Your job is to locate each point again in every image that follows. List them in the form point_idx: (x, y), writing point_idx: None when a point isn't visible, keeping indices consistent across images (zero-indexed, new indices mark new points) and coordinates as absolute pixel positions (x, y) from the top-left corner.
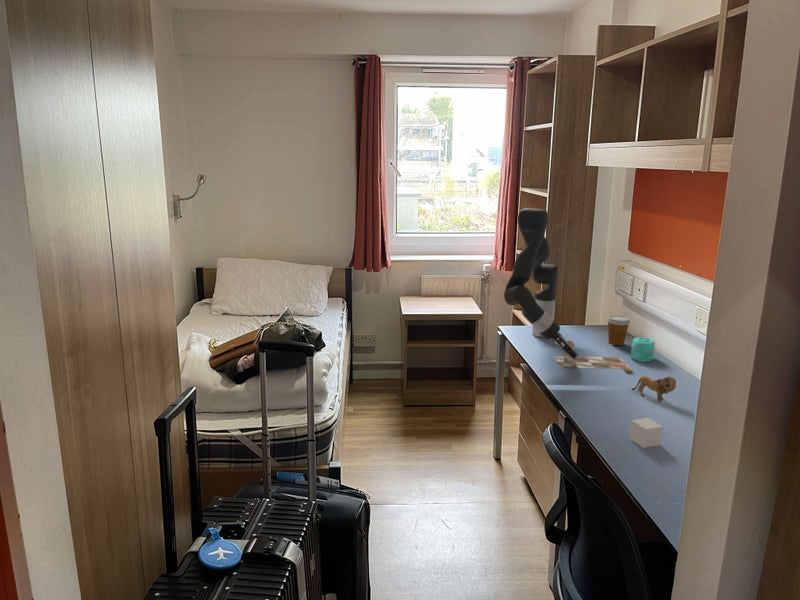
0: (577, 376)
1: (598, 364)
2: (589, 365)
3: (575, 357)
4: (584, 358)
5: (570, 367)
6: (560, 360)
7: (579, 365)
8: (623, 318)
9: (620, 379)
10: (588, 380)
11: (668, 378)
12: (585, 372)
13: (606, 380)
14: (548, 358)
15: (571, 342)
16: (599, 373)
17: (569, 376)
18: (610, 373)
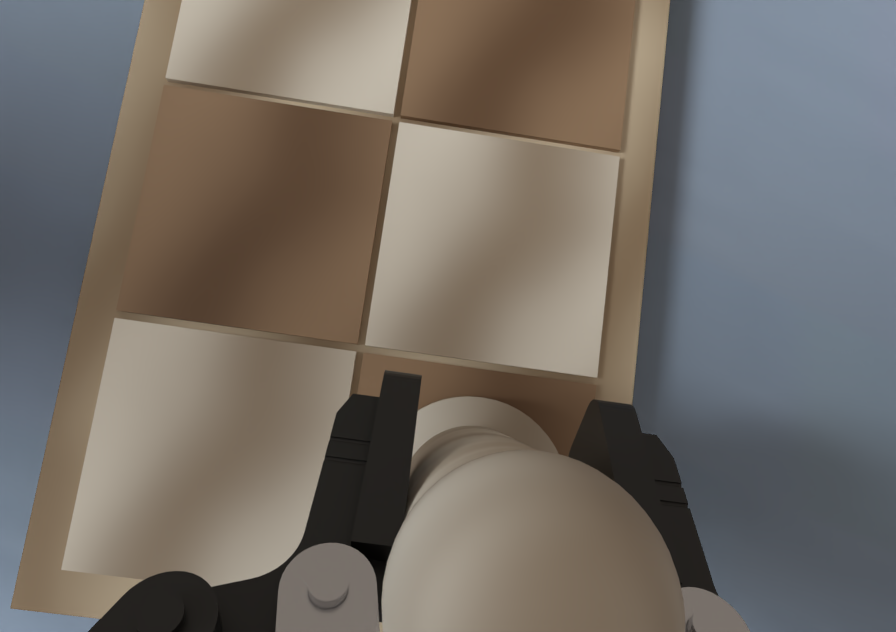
0: (752, 466)
1: (490, 49)
2: (518, 186)
3: (168, 240)
4: (230, 127)
5: None
6: (265, 531)
7: (505, 326)
8: None
9: (856, 3)
10: (882, 383)
11: None
12: None
13: (884, 170)
14: (21, 615)
15: (665, 628)
16: (667, 146)
17: (749, 575)
18: (674, 20)
